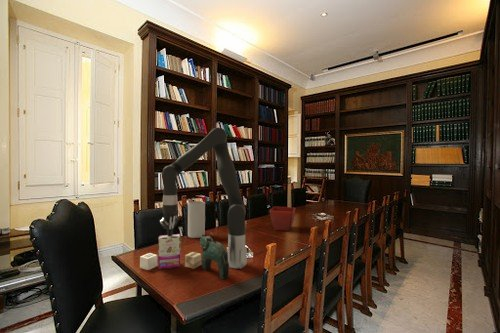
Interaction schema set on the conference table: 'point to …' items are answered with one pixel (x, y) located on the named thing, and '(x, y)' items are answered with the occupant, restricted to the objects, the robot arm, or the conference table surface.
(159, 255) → the candy bar box
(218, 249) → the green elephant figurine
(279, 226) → the plant pot
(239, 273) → the conference table surface
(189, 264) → the maple block one
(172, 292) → the conference table surface
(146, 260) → the white block two
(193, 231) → the cylinder vase
